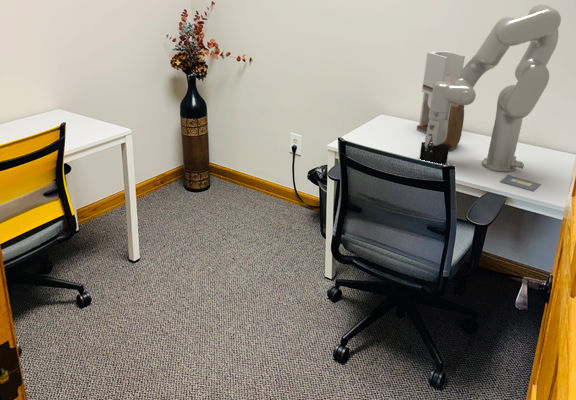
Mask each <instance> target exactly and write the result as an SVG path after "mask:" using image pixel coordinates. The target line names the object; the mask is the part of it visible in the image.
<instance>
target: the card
mask: <svg viewBox="0 0 576 400" xmlns="http://www.w3.org/2000/svg"><path fill="white" fill-rule="evenodd" d="M499 183H501V184H505V185H509V186H512V187H516V188H520V189H523V190H526V191H530V192H535V191H536V190H537V189H538V188H539V187H540V186H541V185H542V183H540V182H536V181H533V180H532V181H531V180H529V179H524V178H520V177H518V176H515V175H511V174H507V175H505V176H504V177H503V178H502V179H501V180H500V181H499Z"/></svg>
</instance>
